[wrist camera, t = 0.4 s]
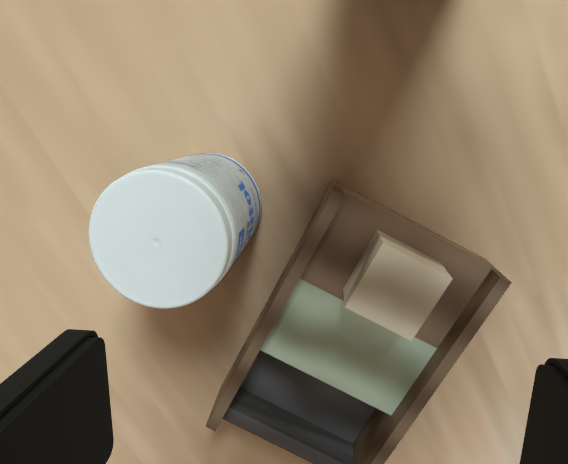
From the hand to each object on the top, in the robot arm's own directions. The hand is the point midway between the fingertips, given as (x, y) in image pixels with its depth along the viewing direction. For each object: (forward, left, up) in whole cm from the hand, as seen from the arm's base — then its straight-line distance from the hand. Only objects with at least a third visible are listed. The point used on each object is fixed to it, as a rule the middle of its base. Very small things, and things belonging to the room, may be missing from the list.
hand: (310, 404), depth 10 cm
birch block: (+4, +9, -29) cm, 30 cm away
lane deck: (+12, +9, -33) cm, 36 cm away
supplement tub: (+6, -8, -33) cm, 35 cm away
